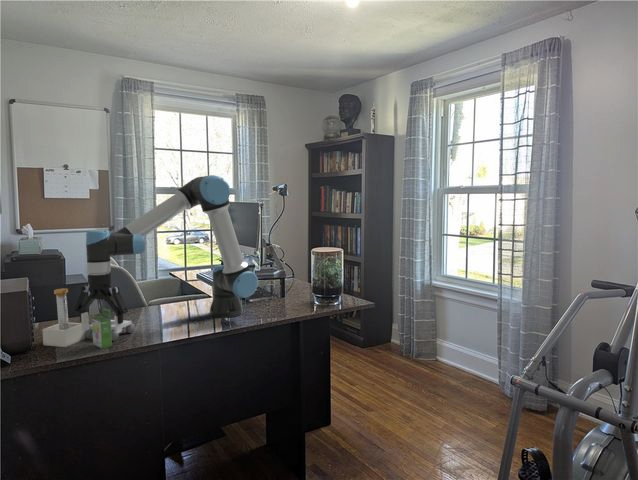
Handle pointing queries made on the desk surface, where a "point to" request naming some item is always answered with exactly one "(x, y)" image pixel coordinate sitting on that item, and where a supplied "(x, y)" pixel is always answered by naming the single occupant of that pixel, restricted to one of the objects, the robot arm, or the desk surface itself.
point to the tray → (63, 335)
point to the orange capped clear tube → (62, 308)
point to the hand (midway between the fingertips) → (101, 331)
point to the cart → (113, 329)
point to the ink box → (102, 330)
